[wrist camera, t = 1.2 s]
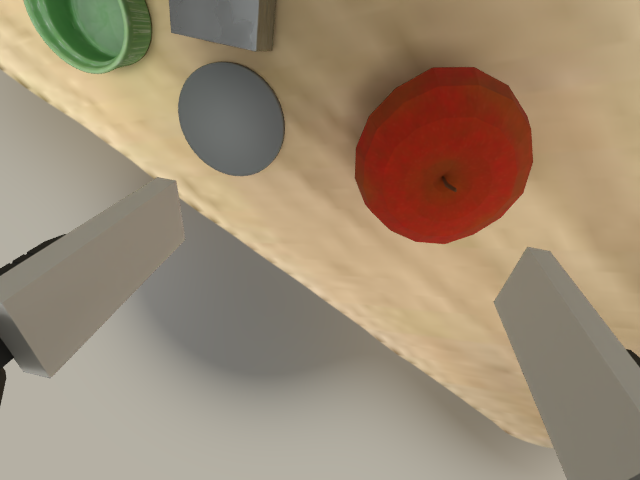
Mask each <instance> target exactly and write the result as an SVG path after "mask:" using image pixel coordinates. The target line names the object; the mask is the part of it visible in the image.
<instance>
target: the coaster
mask: <svg viewBox="0 0 640 480" xmlns="http://www.w3.org/2000/svg"><path fill="white" fill-rule="evenodd" d="M178 113H179V120H180V125H181V128H182V131H183V134H184V136H185V138H186V140H187V142H188V144H189V145H190V147H191V148H192V150H193V151H194V152H195V153H196V154H197V156H198V157H199V158H200V159H201V160H203V161H204V162H205V163H206V164H208V165H209V166H210V167H212V168H214V169H215V170H217V171H220V172H222V173H225V174H228V175H233V176H248V175H252V174H255V173H258V172H260V171H261V170H263V169H265V168H266V167H267V166H268V165H269V164H270V163H271V162H272V161H273V160H274V159H275V157H276V156H277V154H278V153H279V151H280V149H281V146H282V143H283V139H284V130H285V125H284V117H283V112H282V109H281V106H280V103H279V101H278V99H277V97H276V95H275V93H274V92H273V90H272V89H271V88H270V86H269V85H268V84H267V83H266V82H265V81H264V80H263V78H261V77H260V76H259V75H258V74H257V73H255V72H254V71H252V70H250V69H249V68H246V67H244V66H242V65H239V64H236V63H230V62H218V63H212V64H208V65H205V66H202V67H201V68H199V69H197V70H196V71H195V72H193V73H192V74H191V75H190V76H189V78H188V79H187V80H186V82H185V84H184V85H183V88H182V90H181V93H180V97H179V104H178Z"/></svg>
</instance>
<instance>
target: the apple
mask: <svg viewBox="0 0 640 480" xmlns="http://www.w3.org/2000/svg"><path fill="white" fill-rule="evenodd" d="M532 163H533V154H532V137H531V128H530V124H529V121H528V117H527V115H526V113H525V112H524V110H523V108H522V107H521V105H520V104H519V102H518V100H517V99H516V97H515V96H514V94H513V92H512V91H511V89H510V87H509V86H508V85H506V84H504V83H503V82H501V81H499V80H497V79H495V78H493V77H491V76H490V75H488V74H486V73H484V72H482V71H480V70H479V69H477V68H475V67H442V68H431V69H429V70H427V71H426V72H424V73H422V74H420V75H419V76H417V77H415V78H413V79H411V80H410V81H408V82H406V83H404V84H402V85H401V86H399V87H397V88H395V90H394V91H393V92H392V93H391V94H390V95H389V96H388V97H387V98H386V99H385V100H384V101H383V102H382V103H381V104H380V105H379V106H378V107H377V108H376V110H375V111H374V112H373V113H372V114H371V115H370V116H369V118H368V120H367V123H366V125H365V127H364V130H363V132H362V135H361V137H360V139H359V142H358V144H357V147H356V163H355V179H356V182H357V185H358V187H359V190H360V192H361V195H362V197H363V200H364V202H365V205H366V206H367V207H368V208H369V209H370V211H371V212H372V213H373V214H374V215H375V216H376V217H377V218H378V219H379V220H380V221H381V222H382V223H383V224H384V225H385V226H386V227H388V228H389V229H390V230H391V231H393V232H395V233H398V234H400V235H402V236H404V237H406V238H409V239H411V240H413V241H415V242H426V243H438V244H446V243H449V242H452V241H455V240H458V239H461V238H464V237H467V236H470V235H473V234H475V233H477V232H478V231H480V230H481V229H483V228H485V227H486V226H488V225H490V224H491V223H493V222H494V221H496V220H498V219H499V218H501V217H502V216H503V215H504V214H505V212H506V211H507V210H508V209H509V208H510V207H511V206H512V205H513V204H514V202H515V201H516V200H517V199H518V198H519V197H520V196H521V195H522V194H523V192H524V188H525V185H526V182H527V179H528V176H529V173H530V170H531V166H532Z"/></svg>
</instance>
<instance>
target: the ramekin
mask: <svg viewBox="0 0 640 480" xmlns="http://www.w3.org/2000/svg"><path fill="white" fill-rule="evenodd" d="M24 4H25V7H26V10H27V12H28V15H29V17H30V19H31V21H32V23H33V25H34V26H35V28H36V30H37V31H38V33H39V34H40V36H41V37H42V39H43V40H44V41H45V43H46V44H47V45H48V46H49V47H50V48H51V49H52V50H53V51H54V53H56V54H57V55H58V56H59V57H60V58H61V59H62V60H64V61H65V62H66V63H68V64H69V65H71V66H73V67H75V68H77V69H79V70H81V71H84V72H87V73H93V74H102V73H107V72H110V71H112V70H114V69H116V68H118V67H123V66H127V65H131V64H133V63H135V62H137V61H138V60H140V59H141V58H142V57H143V56H144V55H145V53H146V51H147V50H148V47H149V44H150V40H151V21H150V16H149V12H148V9H147V6H146V3H145V1H144V0H24Z"/></svg>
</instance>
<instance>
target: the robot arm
mask: <svg viewBox="0 0 640 480" xmlns="http://www.w3.org/2000/svg"><path fill="white" fill-rule="evenodd" d="M184 240H185V236H184V229H183V222H182V215H181V209H180V202H179V196H178V189H177V183H176V181H175V180H170V179H164V178H159V177H157V178H155V179H154V180H152V181H151V182H149V183H148V184H146V185H144V186H143V187H141V188H140V189H138V190H136V191H135V192H133V193H132V194H130V195H128V196H127V197H125V198H124V199H122V200H120V201H119V202H117V203H116V204H114V205H112V206H111V207H109V208H108V209H106V210H104V211H103V212H101V213H100V214H98V215H97V216H95V217H93V218H92V219H90V220H89V221H87V222H85V223H84V224H82V225H81V226H79V227H77V228H76V229H75V230H73V231H71V232H69V233H68V234H64V235H61V236H58V237H56V238H53V239H50V240H48V241H45V242H43V243H41V244H40V245H38V246H37V247H35V248H33V249H32V250H30V251H28V252H27V254H26V255H24V254H23V255H22V256H20V257H18V258H17V259H15V260H13V262H12V264H10V263H9V264H7V265H5V266H4V267H2V268H0V405H1V400H2V395H3V391H4V386H5V381H6V372H5V370H4V369H3V367H4V366H5V365H6V364H7V363H8V362H9V361H10V360H12V359H13V358H14V359H15V361H16V362H17V363H18V365H19V366H20V368H21V369H22V370H23V372H26V373H30V374H35V375H39V376H43V377H47V378H51V377H52V376H53V375H54V374H55V373H56V372H57V371H58V370H59V369H60V368H61V367H62V366H63V365H64V364H65V363H66V362H67V361H68V360H69V359H70V358H71V357H72V356H73V355H74V354H75V353H76V352H77V351H78V349H79V348H80V347H81V346H82V345H83V344H84V343H85V342H86V341H87V340H88V339H89V338H90V337H91V336H92V335H93V334H94V333H95V332H96V331H97V329H99V328H100V327H101V326H102V325H103V324H104V323H105V321H107V320H108V319H109V318H110V317H111V315H112V314H113V313H114V312H115V311H116V310H117V309H118V308H119V307H120V306H121V305H122V304H123V303H124V302H125V301H126V300H127V299H128V298H129V297H130V296H131V295H132V294H133V293H134V292H135V291H136V289H138V288H139V287H140V286H141V285H142V283H143V282H144V281H145V280H146V279H147V278H148V277H149V276H150V275H151V274H152V273H153V272H154V271H155V270H156V269H157V268H158V267H159V266H160V265H161V264H162V263H163V262H164V261H165V260H166V259H167V258H168V257H169V256H170V255H171V254H172V253H173V252H174V250H175V249H176V248H177V247H178V246H179V245H180V244H181V243H182V242H183V241H184ZM494 304H495V306H496V309H497V311H498V314H499V316H500V318H501V321H502V323H503V326H504V328H505V330H506V333H507V335H508V338H509V340H510V343H511V345H512V347H513V350H514V352H515V355H516V357H517V360H518V362H519V364H520V367H521V369H522V372H523V374H524V376H525V379H526V381H527V384H528V386H529V389H530V391H531V393H532V396H533V398H534V401H535V403H536V405H537V408H538V410H539V413H540V415H541V418H542V420H543V422H544V425H545V427H546V430H547V432H548V434H549V437H550V439H551V442H552V444H553V447H554V449H555V451H556V454H557V456H558V459H559V461H560V463H561V466H562V468H563V471H564V473H565V476H566V478H567V480H640V358H639V357H638V356H637V355H636V354H635V353H634V352H632V351H631V350H628V349H625V348H624V347H623V345H622V344H621V343H620V341H619V340H618V339H617V338H616V336H615V335H614V334H613V332H612V331H611V330H610V328H609V327H608V326H607V325H606V323H605V322H604V321H603V319H602V318H601V317H600V315H599V314H598V313H597V312H596V310H595V309H594V308H593V306H592V305H591V304H590V303H589V301H588V300H587V299H586V297H585V296H584V295H583V293H582V292H581V291H580V290H579V288H578V287H577V286H576V284H575V283H574V282H573V280H572V279H571V278H570V277H569V275H568V274H567V273H566V271H565V270H564V269H563V267H562V266H561V265H560V264H559V262H558V261H557V260H556V258H555V257H554V256H553V255H552V253H551V252H550V251H547V250H541V249H536V248H531V247H527V248H526V250H525V252H524V253H523V255H522V257H521V258H520V260H519V261H518V263H517V265H516V266H515V268H514V270H513V271H512V273H511V275H510V276H509V278H508V280H507V281H506V283H505V284H504V286H503V288H502V289H501V291H500V293H499V294H498V296H497V298H496V299H495V301H494Z"/></svg>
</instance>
